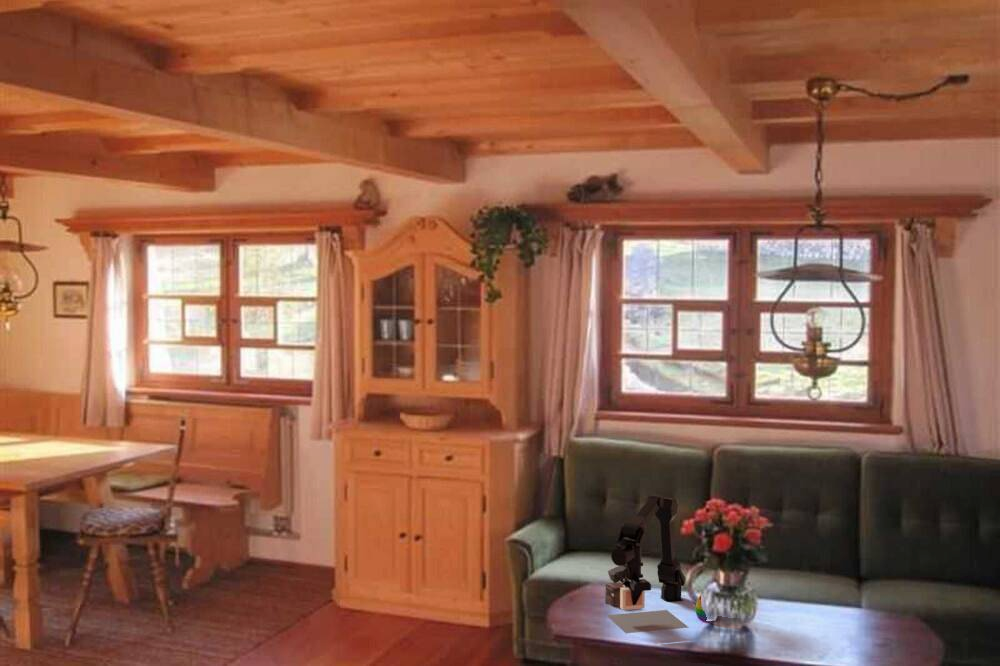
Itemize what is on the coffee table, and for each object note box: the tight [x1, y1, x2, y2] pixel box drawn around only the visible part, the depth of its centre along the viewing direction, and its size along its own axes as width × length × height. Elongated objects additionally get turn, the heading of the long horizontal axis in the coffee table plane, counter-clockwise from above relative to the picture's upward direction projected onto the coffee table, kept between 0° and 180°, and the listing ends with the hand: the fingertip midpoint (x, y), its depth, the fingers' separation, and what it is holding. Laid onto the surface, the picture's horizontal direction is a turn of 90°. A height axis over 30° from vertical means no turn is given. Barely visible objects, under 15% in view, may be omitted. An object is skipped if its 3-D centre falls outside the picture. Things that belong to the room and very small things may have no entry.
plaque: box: [619, 587, 646, 611], centre depth 333 cm, size 8×3×7 cm, turn 104°
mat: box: [606, 609, 689, 634], centre depth 335 cm, size 23×18×1 cm
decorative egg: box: [695, 594, 707, 622], centre depth 337 cm, size 8×8×10 cm
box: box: [604, 581, 625, 608], centre depth 353 cm, size 6×6×7 cm
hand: (632, 603), depth 333 cm, fingers closed on plaque, 3 cm apart
